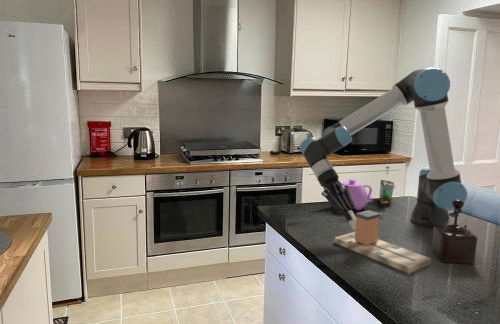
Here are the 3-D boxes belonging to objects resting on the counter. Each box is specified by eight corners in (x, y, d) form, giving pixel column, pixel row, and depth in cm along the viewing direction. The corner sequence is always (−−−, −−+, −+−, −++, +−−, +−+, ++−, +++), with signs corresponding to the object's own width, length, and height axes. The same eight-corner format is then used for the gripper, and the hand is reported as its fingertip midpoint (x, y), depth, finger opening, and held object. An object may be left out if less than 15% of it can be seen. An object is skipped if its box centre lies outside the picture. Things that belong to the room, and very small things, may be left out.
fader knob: (354, 240, 142) (356, 213, 140) (366, 236, 146) (368, 210, 145) (366, 245, 138) (368, 217, 137) (378, 241, 142) (380, 213, 141)
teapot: (326, 211, 183) (328, 182, 181) (323, 202, 198) (324, 175, 196) (375, 213, 182) (378, 184, 179) (368, 204, 197) (370, 176, 194)
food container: (395, 206, 194) (396, 186, 192) (381, 205, 195) (383, 185, 193) (391, 199, 206) (393, 180, 204) (379, 198, 207) (380, 179, 205)
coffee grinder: (477, 265, 130) (484, 211, 127) (442, 263, 131) (448, 210, 128) (456, 246, 146) (462, 198, 142) (425, 245, 146) (430, 197, 143)
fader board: (334, 242, 147) (334, 237, 146) (355, 236, 154) (356, 230, 153) (409, 273, 123) (409, 267, 123) (430, 264, 130) (430, 258, 130)
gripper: (331, 177, 161) (362, 228, 151) (307, 181, 153) (338, 236, 143) (342, 166, 155) (375, 219, 145) (318, 170, 148) (351, 226, 138)
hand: (357, 227), depth 144 cm, fingers closed
